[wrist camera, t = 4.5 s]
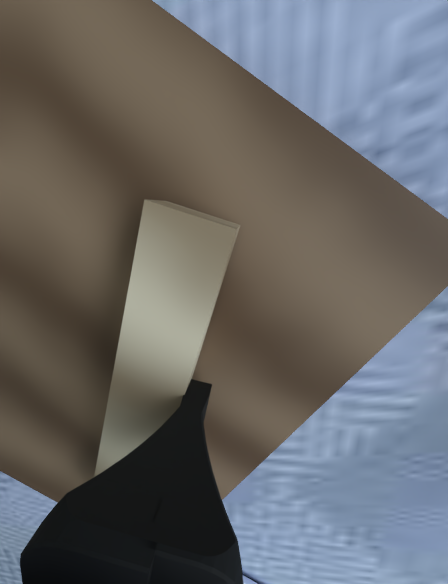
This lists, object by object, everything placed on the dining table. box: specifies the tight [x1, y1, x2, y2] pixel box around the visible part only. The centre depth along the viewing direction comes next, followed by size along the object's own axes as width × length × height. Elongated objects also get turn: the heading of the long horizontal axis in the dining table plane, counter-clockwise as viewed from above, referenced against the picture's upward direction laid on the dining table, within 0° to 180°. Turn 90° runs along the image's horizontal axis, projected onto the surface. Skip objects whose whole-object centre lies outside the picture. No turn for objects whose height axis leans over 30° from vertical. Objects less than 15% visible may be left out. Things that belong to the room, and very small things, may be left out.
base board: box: [0, 0, 448, 502], centre depth 13 cm, size 26×26×1 cm
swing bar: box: [94, 199, 240, 477], centre depth 11 cm, size 18×4×3 cm, turn 163°
